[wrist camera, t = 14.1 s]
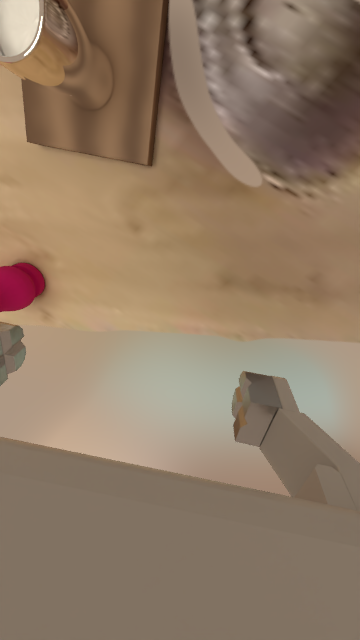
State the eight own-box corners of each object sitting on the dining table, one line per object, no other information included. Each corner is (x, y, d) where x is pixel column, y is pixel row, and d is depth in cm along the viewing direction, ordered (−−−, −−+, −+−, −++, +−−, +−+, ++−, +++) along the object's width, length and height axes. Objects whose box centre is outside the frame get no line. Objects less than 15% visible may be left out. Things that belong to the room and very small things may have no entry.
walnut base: (168, 1, 29) (164, -17, 26) (151, 166, 37) (147, 165, 34) (28, -24, 29) (10, -45, 27) (40, 144, 37) (27, 141, 34)
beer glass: (57, 32, 29) (-73, -96, 16) (118, 40, 29) (39, -83, 16) (61, 110, 32) (-42, 59, 19) (117, 118, 32) (51, 72, 19)
